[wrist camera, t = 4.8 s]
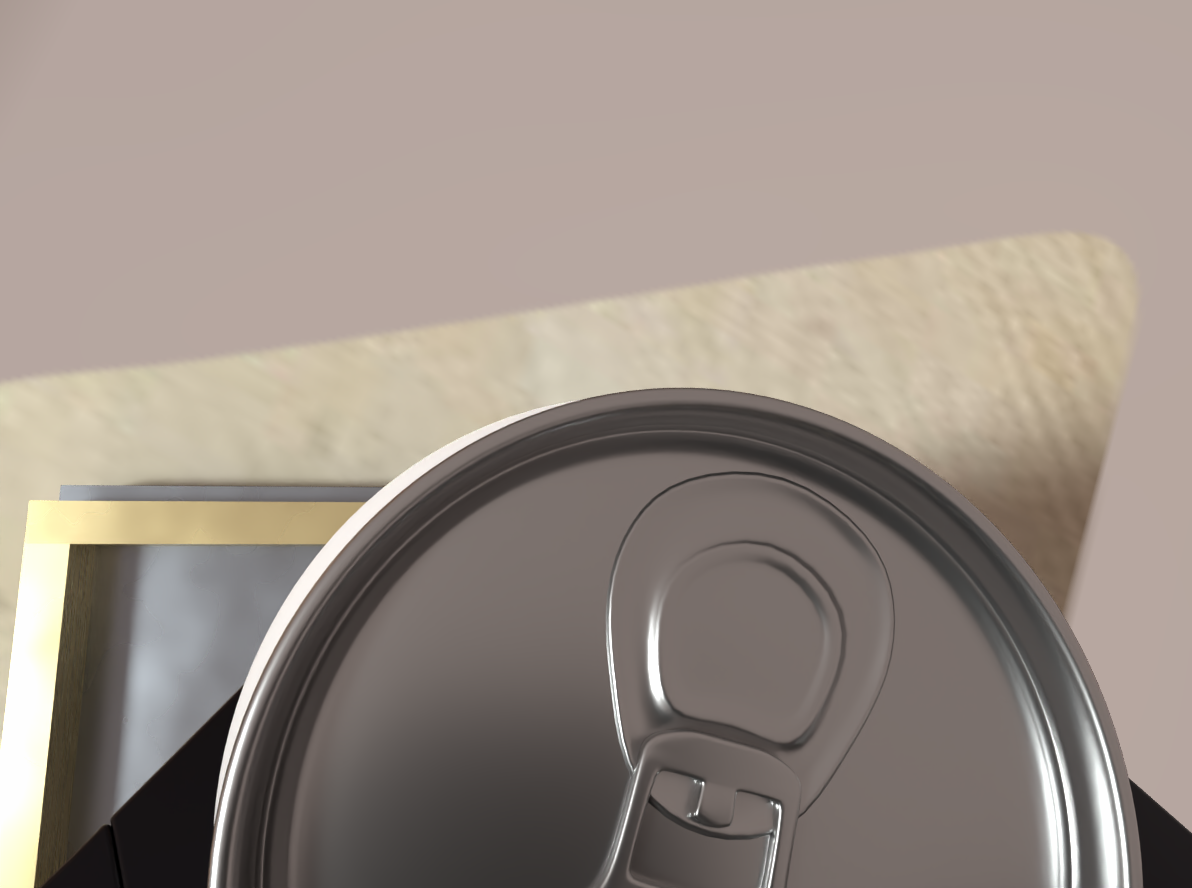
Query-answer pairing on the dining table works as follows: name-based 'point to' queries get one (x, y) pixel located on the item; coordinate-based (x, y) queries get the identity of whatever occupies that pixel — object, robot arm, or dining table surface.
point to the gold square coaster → (136, 641)
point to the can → (671, 674)
